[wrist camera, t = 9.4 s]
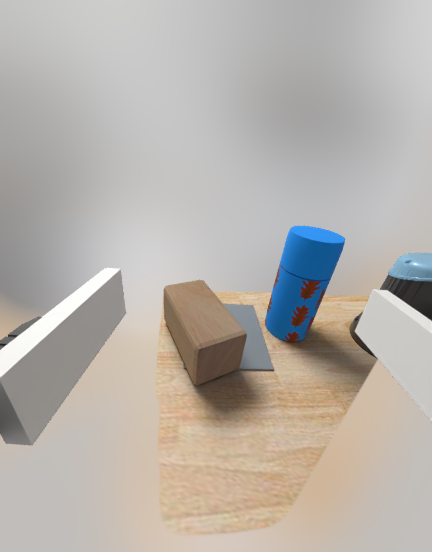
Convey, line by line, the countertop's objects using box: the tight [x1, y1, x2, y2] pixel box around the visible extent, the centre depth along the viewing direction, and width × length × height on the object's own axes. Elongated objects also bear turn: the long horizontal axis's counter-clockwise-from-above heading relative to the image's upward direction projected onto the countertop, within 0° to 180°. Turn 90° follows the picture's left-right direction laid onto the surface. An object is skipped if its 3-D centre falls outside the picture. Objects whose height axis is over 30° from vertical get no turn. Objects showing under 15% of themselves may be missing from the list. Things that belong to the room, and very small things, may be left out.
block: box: [164, 280, 247, 385], centre depth 45 cm, size 10×10×20 cm
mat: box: [184, 304, 274, 370], centre depth 52 cm, size 18×21×1 cm
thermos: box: [265, 226, 345, 342], centre depth 49 cm, size 11×11×25 cm
